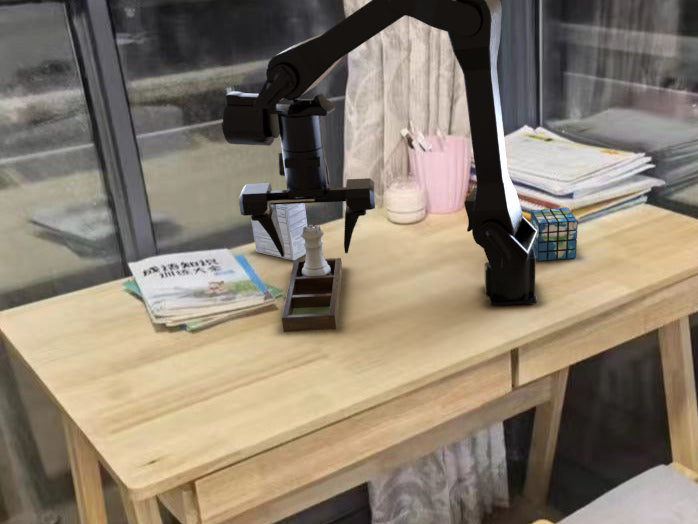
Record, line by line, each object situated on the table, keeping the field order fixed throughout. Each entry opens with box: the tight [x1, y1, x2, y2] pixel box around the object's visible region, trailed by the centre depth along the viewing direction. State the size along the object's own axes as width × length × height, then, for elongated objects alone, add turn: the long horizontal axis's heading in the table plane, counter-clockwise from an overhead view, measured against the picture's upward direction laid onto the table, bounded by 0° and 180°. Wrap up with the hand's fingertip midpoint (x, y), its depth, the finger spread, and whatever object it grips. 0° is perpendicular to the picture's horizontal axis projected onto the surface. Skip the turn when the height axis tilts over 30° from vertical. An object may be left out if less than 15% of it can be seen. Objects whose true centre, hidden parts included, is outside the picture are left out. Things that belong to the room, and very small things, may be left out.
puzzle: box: [529, 207, 579, 262], centre depth 145 cm, size 6×6×6 cm
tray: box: [281, 257, 344, 333], centre depth 134 cm, size 7×20×2 cm, turn 3°
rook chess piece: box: [301, 224, 332, 277], centre depth 138 cm, size 4×4×8 cm
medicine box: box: [250, 203, 309, 261], centre depth 148 cm, size 8×4×9 cm, turn 58°
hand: (314, 253), depth 138 cm, fingers open, 9 cm apart
